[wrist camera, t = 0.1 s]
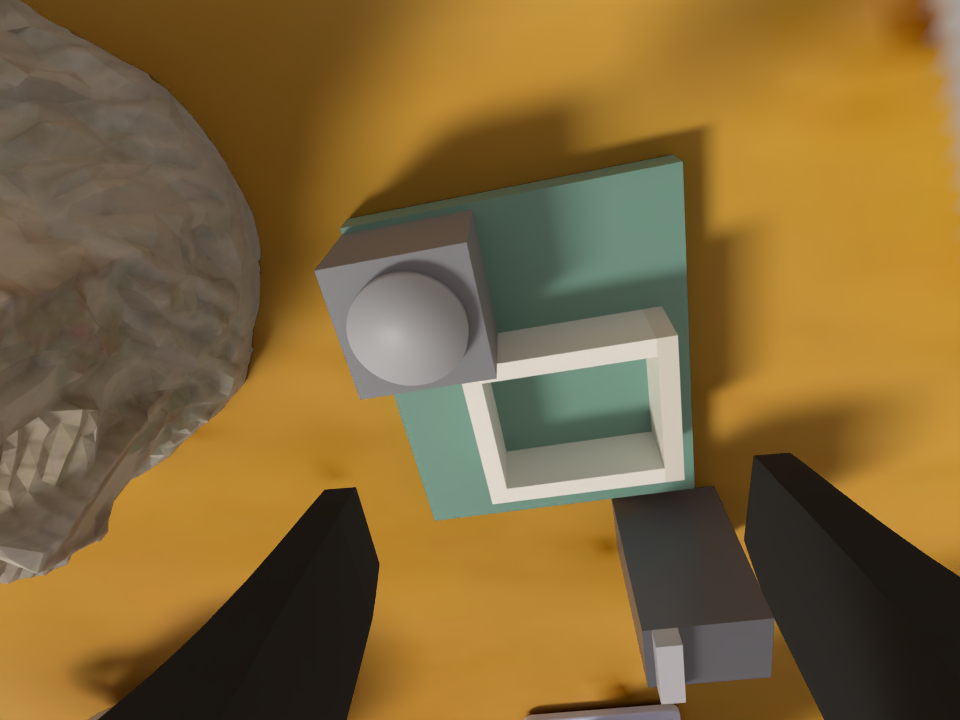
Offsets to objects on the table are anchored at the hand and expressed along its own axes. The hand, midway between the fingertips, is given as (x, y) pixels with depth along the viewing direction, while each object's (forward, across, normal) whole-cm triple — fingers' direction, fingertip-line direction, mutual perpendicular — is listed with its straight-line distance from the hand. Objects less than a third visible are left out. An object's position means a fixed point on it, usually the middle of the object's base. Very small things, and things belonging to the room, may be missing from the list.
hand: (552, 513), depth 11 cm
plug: (+10, -4, +10) cm, 15 cm away
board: (+10, 0, +2) cm, 10 cm away
